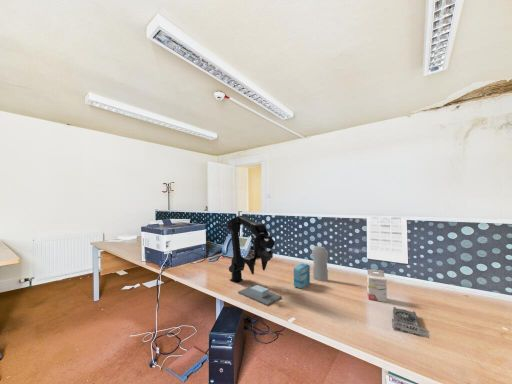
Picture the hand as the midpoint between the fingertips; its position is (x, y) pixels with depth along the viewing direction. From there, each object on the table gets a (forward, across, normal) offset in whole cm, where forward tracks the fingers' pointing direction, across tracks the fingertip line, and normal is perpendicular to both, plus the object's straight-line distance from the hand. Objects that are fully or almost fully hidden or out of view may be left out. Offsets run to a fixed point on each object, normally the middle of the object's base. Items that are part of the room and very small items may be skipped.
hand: (258, 272), depth 127 cm
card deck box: (+10, -4, -4) cm, 11 cm away
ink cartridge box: (+10, +36, -52) cm, 65 cm away
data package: (+11, +25, -14) cm, 30 cm away
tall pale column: (+11, +41, -17) cm, 46 cm away
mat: (+11, -4, -4) cm, 12 cm away
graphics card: (+10, +21, -69) cm, 73 cm away
